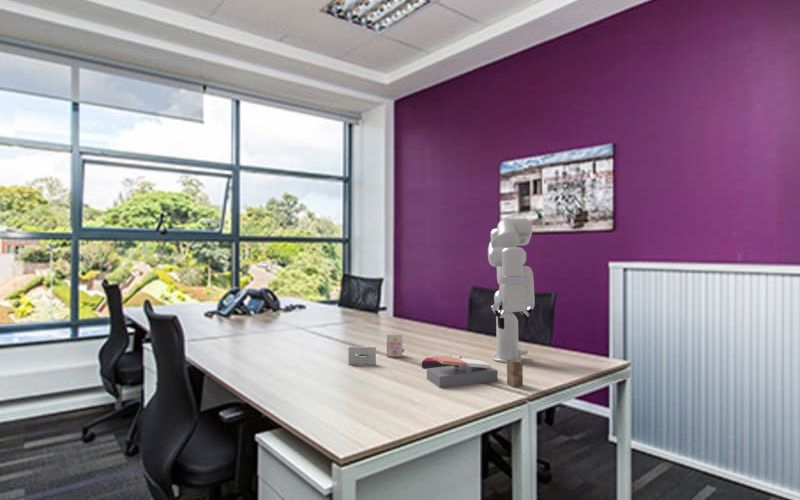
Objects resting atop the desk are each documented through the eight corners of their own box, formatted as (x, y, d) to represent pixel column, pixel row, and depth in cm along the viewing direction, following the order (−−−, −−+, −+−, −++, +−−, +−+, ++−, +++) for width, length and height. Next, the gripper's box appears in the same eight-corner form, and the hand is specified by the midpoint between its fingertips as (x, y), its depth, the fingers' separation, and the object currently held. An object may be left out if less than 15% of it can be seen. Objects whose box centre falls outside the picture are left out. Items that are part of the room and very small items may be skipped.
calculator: (428, 354, 200) (461, 354, 195) (429, 364, 200) (462, 364, 195) (421, 360, 190) (456, 361, 185) (421, 370, 190) (456, 371, 185)
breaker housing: (481, 372, 182) (481, 357, 182) (497, 380, 171) (497, 364, 171) (426, 378, 174) (426, 362, 174) (439, 387, 163) (439, 370, 163)
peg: (516, 383, 168) (516, 358, 168) (522, 386, 164) (522, 361, 164) (507, 384, 167) (506, 359, 166) (513, 387, 163) (513, 362, 163)
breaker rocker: (478, 365, 180) (479, 360, 180) (489, 370, 172) (490, 365, 172) (433, 360, 173) (434, 355, 173) (442, 366, 165) (443, 360, 165)
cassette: (348, 365, 196) (348, 347, 196) (349, 363, 198) (348, 346, 198) (375, 365, 195) (375, 347, 195) (376, 364, 197) (376, 346, 197)
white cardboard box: (388, 355, 213) (388, 333, 213) (402, 355, 213) (402, 334, 213) (387, 356, 210) (386, 335, 210) (401, 357, 209) (401, 335, 209)
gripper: (526, 280, 172) (527, 324, 172) (486, 281, 166) (486, 327, 166) (538, 281, 165) (539, 328, 165) (497, 282, 159) (497, 330, 159)
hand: (512, 327), depth 165 cm, fingers open, 9 cm apart
